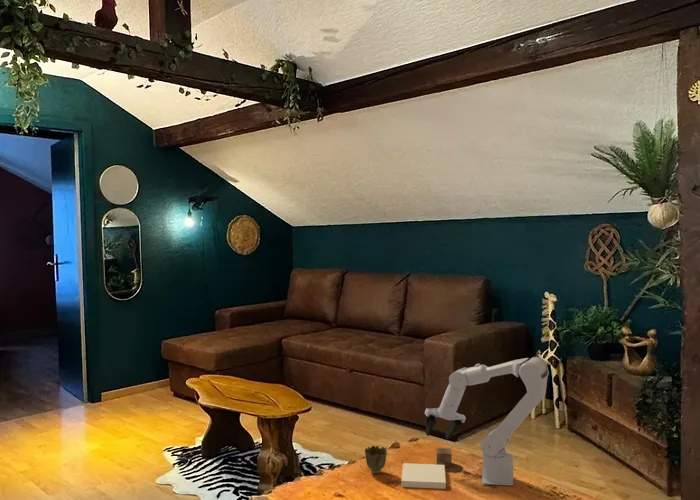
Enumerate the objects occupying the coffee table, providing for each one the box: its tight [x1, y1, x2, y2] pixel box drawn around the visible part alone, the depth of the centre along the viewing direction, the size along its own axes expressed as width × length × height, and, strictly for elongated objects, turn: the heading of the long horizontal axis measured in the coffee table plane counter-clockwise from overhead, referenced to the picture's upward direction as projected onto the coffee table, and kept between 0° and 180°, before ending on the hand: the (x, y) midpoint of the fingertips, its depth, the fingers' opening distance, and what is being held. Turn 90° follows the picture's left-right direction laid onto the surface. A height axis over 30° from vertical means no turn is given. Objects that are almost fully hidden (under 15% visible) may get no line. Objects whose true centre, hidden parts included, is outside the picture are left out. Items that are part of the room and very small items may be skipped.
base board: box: [400, 462, 447, 490], centre depth 200 cm, size 14×14×2 cm
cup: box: [364, 445, 388, 475], centre depth 204 cm, size 8×7×8 cm
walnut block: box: [436, 447, 453, 469], centre depth 211 cm, size 5×5×5 cm
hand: (437, 435), depth 209 cm, fingers open, 7 cm apart
